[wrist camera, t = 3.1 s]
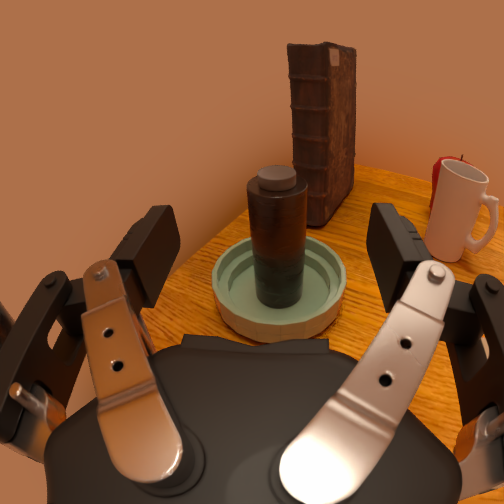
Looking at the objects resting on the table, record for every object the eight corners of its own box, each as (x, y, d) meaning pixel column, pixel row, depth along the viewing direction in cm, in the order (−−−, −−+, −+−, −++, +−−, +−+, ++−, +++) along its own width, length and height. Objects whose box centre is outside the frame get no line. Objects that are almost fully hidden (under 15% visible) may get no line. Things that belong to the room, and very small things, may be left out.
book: (319, 233, 38) (322, 38, 23) (275, 218, 42) (265, 40, 26) (357, 188, 48) (363, 49, 33) (321, 179, 52) (321, 46, 37)
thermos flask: (268, 315, 27) (262, 190, 19) (248, 284, 31) (236, 168, 23) (311, 297, 28) (320, 176, 20) (288, 270, 32) (287, 157, 24)
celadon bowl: (247, 369, 23) (243, 347, 21) (201, 278, 33) (196, 254, 31) (365, 312, 27) (373, 287, 25) (299, 244, 37) (300, 221, 34)
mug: (412, 241, 35) (431, 160, 28) (438, 230, 37) (457, 157, 30) (463, 286, 28) (498, 200, 20) (485, 268, 29) (515, 192, 22)
